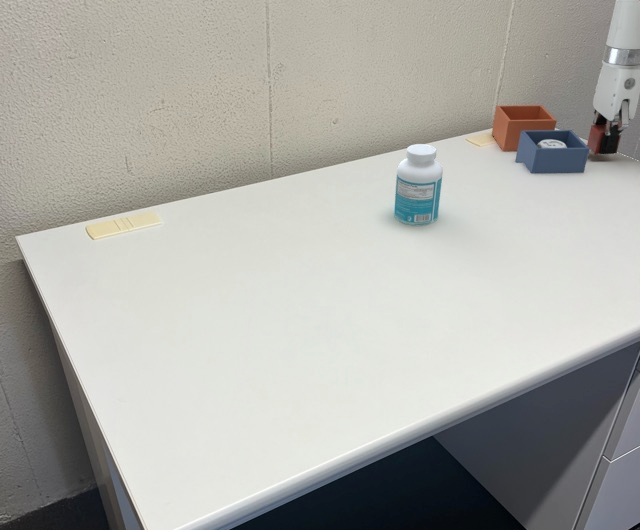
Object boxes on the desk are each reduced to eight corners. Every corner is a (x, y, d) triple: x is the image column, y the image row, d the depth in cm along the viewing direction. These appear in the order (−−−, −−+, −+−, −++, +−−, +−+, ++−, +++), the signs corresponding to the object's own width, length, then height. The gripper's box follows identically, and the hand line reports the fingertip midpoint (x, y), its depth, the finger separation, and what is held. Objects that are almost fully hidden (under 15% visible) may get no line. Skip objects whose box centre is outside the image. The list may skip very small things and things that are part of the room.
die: (530, 163, 125) (535, 139, 122) (554, 162, 125) (559, 138, 122) (539, 173, 121) (545, 148, 118) (564, 172, 121) (570, 147, 118)
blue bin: (563, 160, 127) (571, 129, 123) (581, 181, 119) (590, 148, 115) (515, 161, 127) (521, 130, 123) (529, 181, 119) (536, 149, 115)
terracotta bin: (535, 134, 140) (541, 105, 136) (549, 150, 132) (556, 120, 128) (491, 134, 140) (496, 105, 136) (503, 151, 132) (508, 120, 128)
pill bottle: (412, 210, 109) (419, 136, 101) (445, 224, 105) (455, 149, 97) (384, 224, 105) (388, 148, 97) (417, 239, 101) (425, 161, 93)
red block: (607, 145, 128) (613, 124, 126) (616, 153, 125) (622, 131, 122) (586, 146, 128) (591, 125, 126) (594, 154, 125) (599, 132, 122)
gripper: (665, 66, 109) (637, 163, 120) (625, 44, 122) (603, 134, 133) (623, 67, 109) (599, 165, 120) (588, 46, 122) (569, 135, 133)
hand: (601, 147), depth 126 cm, fingers closed on red block, 4 cm apart
